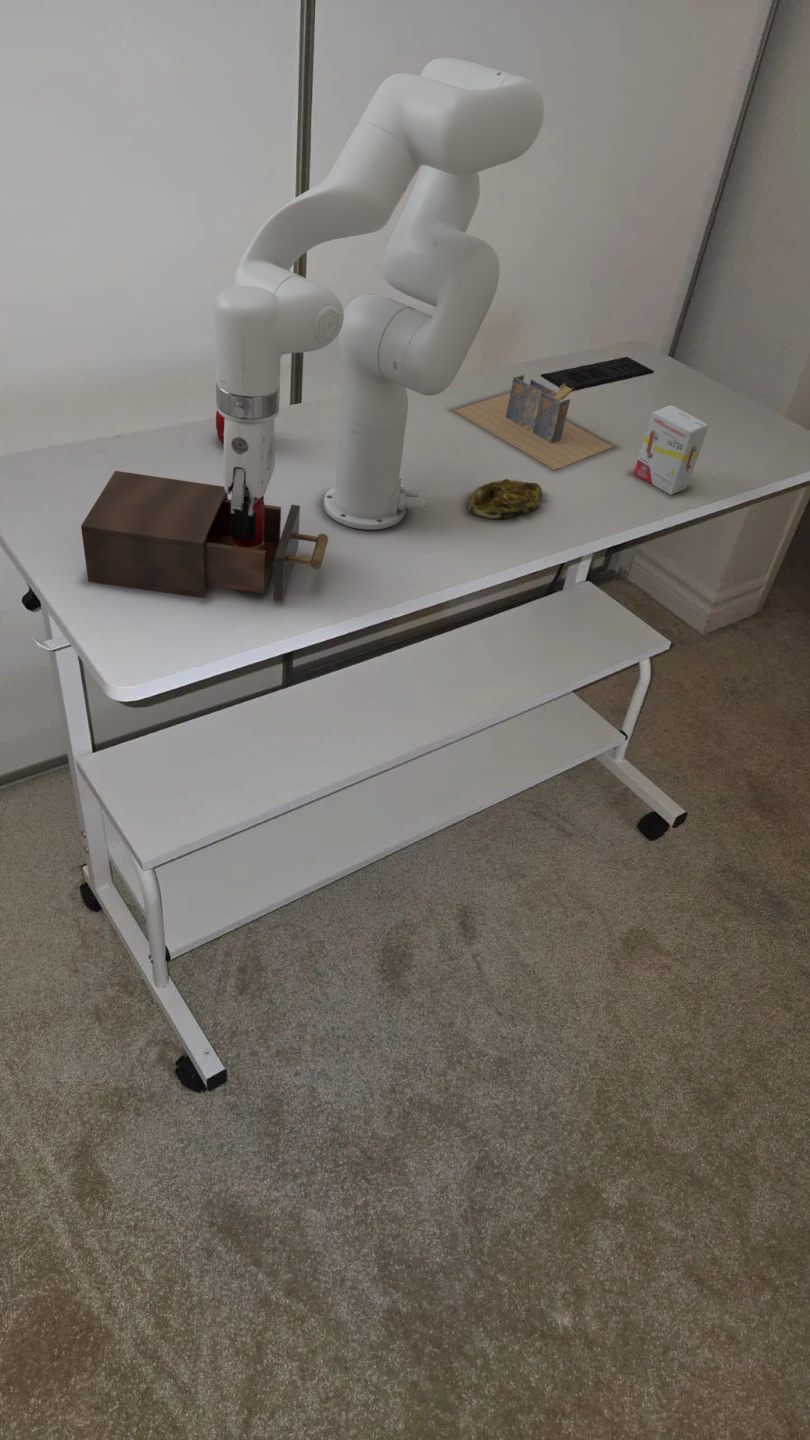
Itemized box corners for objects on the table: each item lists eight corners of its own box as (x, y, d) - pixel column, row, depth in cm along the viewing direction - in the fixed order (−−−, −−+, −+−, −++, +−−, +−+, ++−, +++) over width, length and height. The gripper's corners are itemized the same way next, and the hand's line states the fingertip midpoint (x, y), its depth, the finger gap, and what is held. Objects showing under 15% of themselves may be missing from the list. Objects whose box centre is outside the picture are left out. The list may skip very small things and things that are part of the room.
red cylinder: (268, 552, 134) (270, 476, 126) (261, 573, 130) (263, 496, 122) (233, 547, 134) (232, 471, 126) (225, 567, 130) (224, 490, 122)
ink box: (631, 473, 168) (651, 409, 159) (648, 466, 170) (669, 403, 162) (670, 496, 163) (692, 431, 155) (687, 488, 166) (710, 424, 158)
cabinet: (228, 539, 138) (227, 486, 133) (204, 598, 128) (203, 543, 122) (120, 524, 138) (115, 470, 132) (88, 581, 128) (80, 525, 122)
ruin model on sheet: (613, 446, 174) (628, 395, 168) (554, 470, 165) (567, 416, 159) (513, 391, 186) (523, 341, 180) (453, 410, 177) (462, 358, 171)
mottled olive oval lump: (515, 483, 162) (451, 507, 154) (518, 457, 159) (454, 479, 151) (557, 503, 157) (494, 528, 149) (561, 476, 154) (497, 500, 146)
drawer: (329, 551, 138) (332, 510, 133) (315, 606, 128) (318, 563, 123) (197, 532, 137) (195, 490, 133) (173, 585, 128) (171, 542, 123)
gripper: (265, 434, 110) (263, 567, 122) (290, 373, 122) (286, 499, 135) (200, 424, 110) (204, 559, 122) (232, 364, 122) (232, 492, 135)
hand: (247, 526), depth 128 cm, fingers closed on red cylinder, 4 cm apart
